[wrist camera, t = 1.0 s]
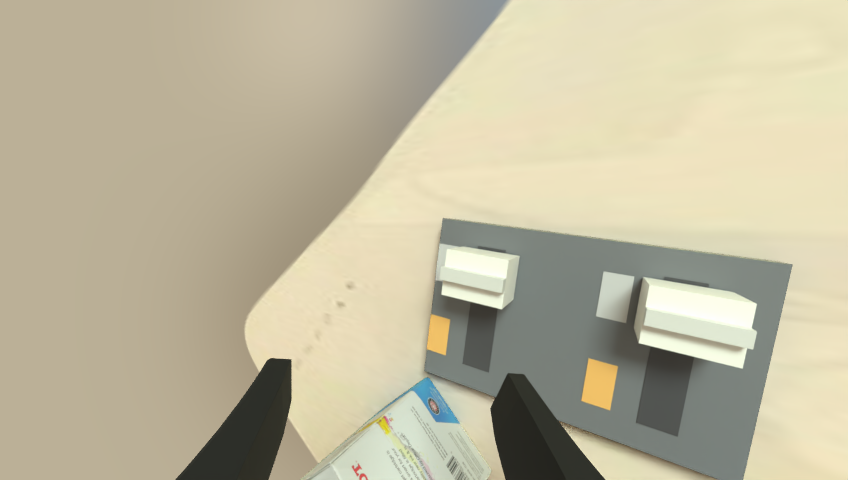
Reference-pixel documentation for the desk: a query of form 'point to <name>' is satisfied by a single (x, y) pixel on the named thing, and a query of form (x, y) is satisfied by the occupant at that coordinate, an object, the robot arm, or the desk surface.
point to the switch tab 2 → (695, 321)
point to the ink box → (407, 444)
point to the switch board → (610, 342)
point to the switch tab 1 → (480, 276)
